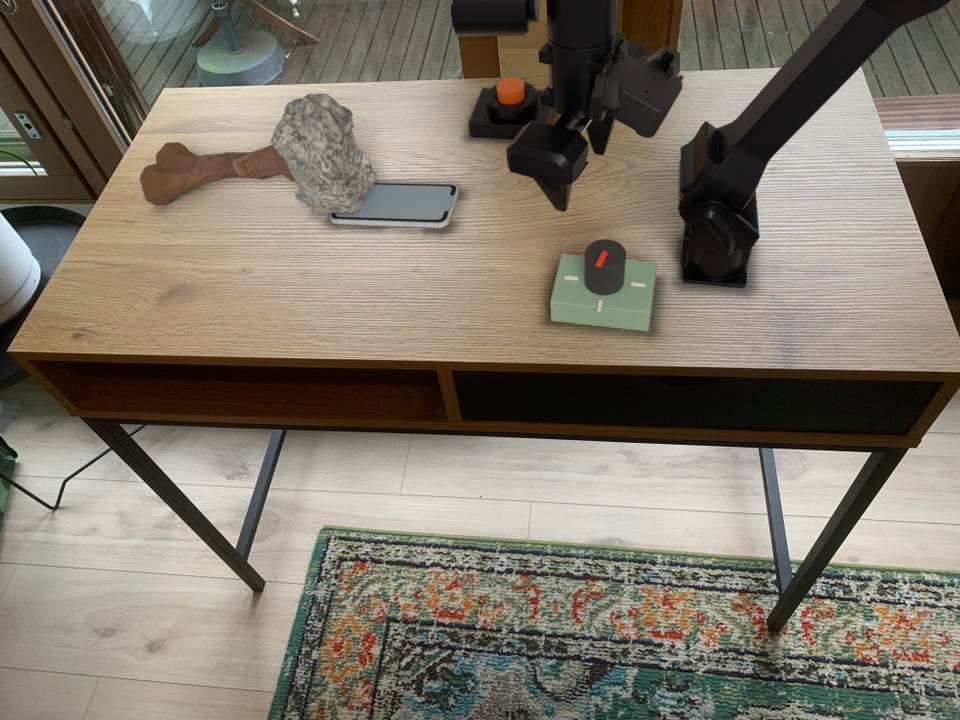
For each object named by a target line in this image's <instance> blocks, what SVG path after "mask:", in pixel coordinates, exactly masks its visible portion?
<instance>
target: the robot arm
mask: <svg viewBox="0 0 960 720" xmlns="http://www.w3.org/2000/svg"><path fill="white" fill-rule="evenodd" d="M952 1H953V0H839V1H838V2H837V3H836V4H835V5H834V7H833V8H831V10H830V11H829V13H828V14H827V15H826V16H825V17H824V18H823V19H822V20H821V22H820V23H819V24H818V25H817V26H816V27H815V28H814V30H813V31H812V32H811V33H810V34H809V35H808V36H807V37H806V39H805V40H804V41H803V42H802V43H801V44H800V46H799V47H798V48H797V49H796V50H795V51H794V52H793V53H792V54H791V56H790V57H789V58H788V59H787V60H786V62H784V64H783V65H782V66H781V67H780V69H778V71H777V72H776V73H775V74H774V75H773V76H772V78H771V79H770V80H769V81H768V82H767V83H766V84H765V86H763V88H762V89H761V90H760V91H759V92H758V93H757V95H756V96H755V97H754V98H753V99H752V101H751V102H749V104H748V105H747V106H746V107H745V108H744V109H743V111H742V112H741V113H740V114H739V115H738V116H737V117H736V118H735V119H734V120H733V121H731V122H729V123H727V124H724V125H721V126H719V127H716V126H714V125H713V124H711V122H709V121H708V120H707V121H704V122H703V123H702V124H701V125H700V127H699V129H698V130H697V132H696V134H695V135H694V136H693V138H692V139H691V140H690V141H688V142H687V143H686V144H684V145H682V146H681V147H680V158H679V159H680V160H679V163H678V186H677V187H678V188H677V189H678V192H677V193H678V195H677V196H678V197H677V199H678V200H677V201H678V202H677V203H678V204H677V210H678V214H679V217H680V218H681V219H682V221H683V222H684V225H683V231H682V236H681V237H682V238H681V245H680V253H679V261H678V264H679V266H680V267H682V277H681V281H682V282H683V283H685V284H694V285H705V286H713V287H715V286H717V287H725V288H734V289H735V288H736V289H744V288H746V287H747V284H748V267H749V263H750V258H751V255H752V251H753V247H754V246H755V244H756V243H757V242H758V240H760V237H761V235H760V224H759V223H760V222H759V211H758V200H757V199H758V197H757V188H758V187H759V184H760V182H761V180H762V177H763V175H764V173H765V170H766V168H767V166H768V164H769V162H770V161H771V160H772V158H773V157H774V156H775V155H776V154H777V153H778V152H779V151H780V150H781V149H782V148H783V147H785V145H786V144H787V143H788V142H789V141H790V140H791V139H792V138H793V137H794V136H795V134H797V133H798V131H800V130H801V129H802V127H803V126H805V125H806V124H807V122H809V120H811V118H812V117H813V116H814V115H815V114H817V112H819V110H820V109H821V108H822V107H824V106H825V104H827V102H828V101H829V100H831V98H832V97H833V96H834V95H835V94H836V93H837V92H838V91H839V90H840V89H841V88H842V87H843V86H844V85H845V84H846V83H847V82H848V81H849V79H851V77H853V75H854V74H856V73H857V71H859V69H860V68H861V67H862V66H863V65H864V64H865V63H866V62H867V61H868V60H869V59H870V58H871V57H872V56H873V55H874V54H875V53H876V52H877V51H878V50H879V49H880V48H881V47H882V46H883V45H884V44H885V43H886V42H887V41H888V40H889V39H890V38H891V36H893V35H894V34H895V33H896V32H897V31H898V30H900V29H901V28H902V27H904V26H905V25H907V24H910V23H912V22H914V21H917V20H919V19H921V18H924V17H926V16H928V15H930V14H933V13H935V12H938V11H940V10H942V9H943V8H945V7H946V6H948V5H949V4H950V3H952ZM545 2H546V3H545V4H546V31H547V32H546V36H547V37H546V38H547V39H546V42H545V43H544V44H543V46H542V47H541V48H540V49H539V50H538V63H539V64H544V65H547V67H548V69H547V70H548V85H547V86H546V87H545V88H544V90H543V92H542V94H541V95H540V97H541V105H543V106H548V107H552V108H554V112H555V113H556V114H558V115H559V117H558V119H557V120H556V121H555V122H554V124H551V123H550V124H546V123H542V122H537V121H533V120H532V121H531V122H529V123H528V124H527V125H525V126H524V127H523V128H522V129H521V131H520V132H519V133H518V135H517V136H516V137H515V138H514V140H511V142H510V143H509V145H508V146H507V147H506V149H505V156H506V165H507V169H508V171H509V172H510V173H513V174H517V175H520V176H524V177H528V178H531V179H532V180H534V182H535V183H536V185H537V186H538V187H539V188H540V189H541V191H542V192H543V194H544V195H545V197H546V198H547V200H548V201H549V202H550V204H551V205H552V206H553V208H554V210H555V211H559V212H562V213H565V212H567V210H568V207H569V203H570V198H571V192H572V186H573V184H574V182H576V181H577V180H578V179H579V178H580V176H581V174H582V173H583V172H584V170H585V168H586V167H587V166H588V165H589V161H587V159H588V155H589V145H590V147H591V150H592V152H593V154H595V155H598V156H604V155H605V153H606V151H607V148H608V145H609V141H610V139H611V136H612V133H613V130H614V127H615V124H616V121H618V122H619V123H621V124H623V125H625V126H626V127H628V128H630V129H631V130H633V131H635V133H636V134H637V135H638V136H640V137H642V138H646V139H650V138H653V137H654V136H655V135H656V134H657V133H658V131H659V129H660V127H661V126H662V125H663V123H664V121H665V119H666V118H667V116H668V115H669V113H670V111H671V109H672V107H673V106H674V104H675V103H676V101H677V99H678V97H679V96H680V93H681V92H682V90H683V86H684V84H683V80H684V79H685V76H684V75H682V74H680V73H681V53H680V52H679V51H677V50H676V49H674V48H672V47H670V46H668V45H665V46H663V47H661V48H660V49H659V50H657V51H656V52H654V53H652V55H651V54H650V52H648V50H647V49H646V48H645V46H644V45H643V44H642V43H640V42H633V41H628V39H627V38H625V35H626V34H625V33H623V32H618V11H619V10H618V9H619V0H545ZM540 13H541V0H452V2H451V4H450V17H451V24H452V27H453V32H454V33H455V35H456V36H457V37H524V36H525V35H526V34H529V32H530V31H529V30H530V23H531V24H533V23H534V24H535V23H539V20H540ZM585 131H586V133H587V138H588V140H587V139H586V138H585V136H583V134H584V133H585Z"/></svg>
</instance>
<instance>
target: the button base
mask: <svg viewBox="0 0 960 720" xmlns="http://www.w3.org/2000/svg"><path fill="white" fill-rule="evenodd" d="M522 81H523V82H524V84H525V98H524V100H523V101H521V102H520V103H516V104H502V103H500V102H499V101H498V98H497V88H496V86H497V84H498V83H495V85H493V86H492V87H489V88H488V87H487V88H486V87H482V88H481V91H480V93H479V95H478V98H477V101H476V103H475V105H474V108H473V111H472V112H471V113H472V114H471V116H470V118H469V121H468V131H469V137H470V138H476V139H477V138H478V139H495V140H511V141H513V140H514V138H515V137H516V136H517V135H518V133H519V132H520V131H521V129H522V128H523V127H524V126H525V125H527V124H528V123H529V122H531V121H532V120H533V121H537V122H542V123H546V124H550V125H551V122H552V118H553V114H554V112H555V111H554V108H552V107H548V106H543V105H541V97H540V95H541V94H542V92H543V91H544V90H543V89H542V90H540V89H539V90H538V89H536V88H535V86H534V85H533V84H531V83H529V82H527V81H524V80H522Z"/></svg>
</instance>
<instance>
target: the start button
mask: <svg viewBox="0 0 960 720" xmlns="http://www.w3.org/2000/svg"><path fill="white" fill-rule="evenodd" d="M523 81H524V80H523V79H521V78H519V77H513V76H512V77H511V76H510V77H506V78H502V79H501V80H499V81H498V82H497V83H496V84H497V86H496V88H497V98H498V101H499V102H500V103H502V104H516V103H520V102H521V101H523V100H524V98H525V84H524V82H525V81H524V82H523Z"/></svg>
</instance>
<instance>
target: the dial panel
mask: <svg viewBox="0 0 960 720" xmlns="http://www.w3.org/2000/svg"><path fill="white" fill-rule="evenodd" d="M657 267H658V262H657V261H651V260H650V261H649V260H640V259H639V260H637V259H627V258H626V262H625V277H624V285H623V287H622V288H621V289H620V290H619V291H618V292H616V293H614V294H611V295H597V294H594V293H592V292H591V291H589V290H588V289H587V287H586V285H585V255H582V254H571V253H561V254H560V258H559V263H558V266H557V272H556V274H555V275H556V276H555V279H554V283H553V288H552V292H551V297H550V300H549V303H550V304H549V305H550V306H549V308H550V309H549V310H550V321H551V322H557V323H558V322H559V323H567V324H576V325H577V324H578V325H586V326H593V327H603V328H613V329H623V330H631V331H632V330H633V331H639V332H649V331H650V323H651V315H652V307H653V299H654V292H655V285H656V277H657Z"/></svg>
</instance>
